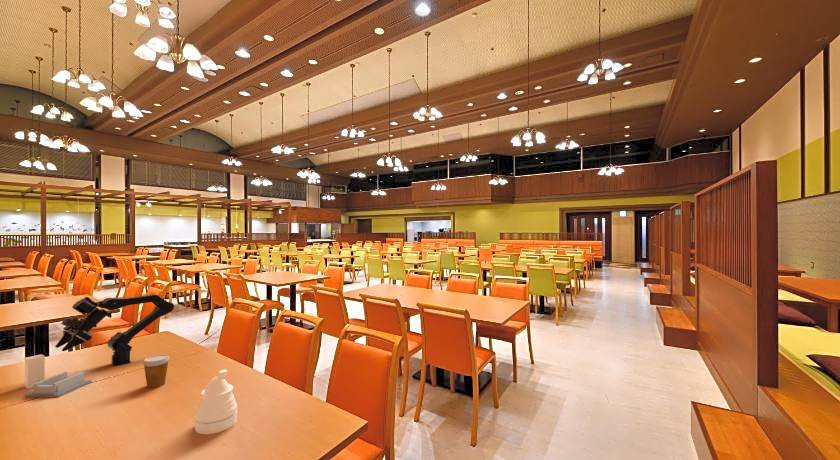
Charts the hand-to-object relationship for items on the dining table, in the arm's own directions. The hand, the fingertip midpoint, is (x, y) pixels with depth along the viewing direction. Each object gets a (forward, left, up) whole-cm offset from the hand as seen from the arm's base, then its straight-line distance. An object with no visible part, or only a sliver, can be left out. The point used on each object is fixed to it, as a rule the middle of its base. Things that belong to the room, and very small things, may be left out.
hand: (59, 349), depth 157 cm
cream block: (+7, +1, -14) cm, 16 cm away
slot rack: (0, +15, -14) cm, 21 cm away
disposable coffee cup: (-28, +41, -14) cm, 51 cm away
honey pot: (-34, +95, -14) cm, 102 cm away
